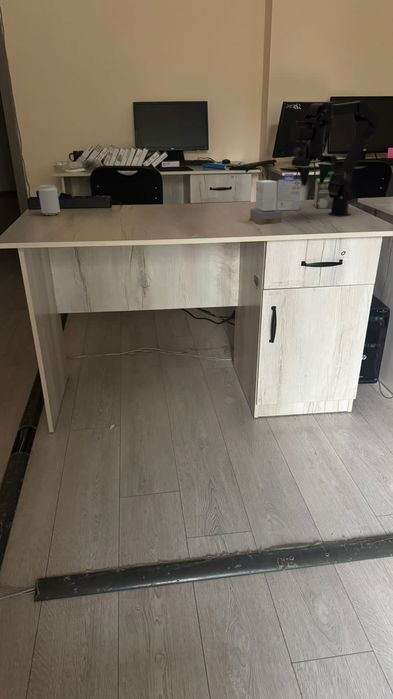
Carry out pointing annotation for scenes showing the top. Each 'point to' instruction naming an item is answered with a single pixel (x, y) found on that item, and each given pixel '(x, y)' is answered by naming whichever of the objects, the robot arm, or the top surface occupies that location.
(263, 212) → the upper block
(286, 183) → the ink cartridge box
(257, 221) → the lower block
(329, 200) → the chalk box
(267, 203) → the small box
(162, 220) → the top surface
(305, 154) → the robot arm
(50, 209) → the can
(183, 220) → the top surface
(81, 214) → the top surface
